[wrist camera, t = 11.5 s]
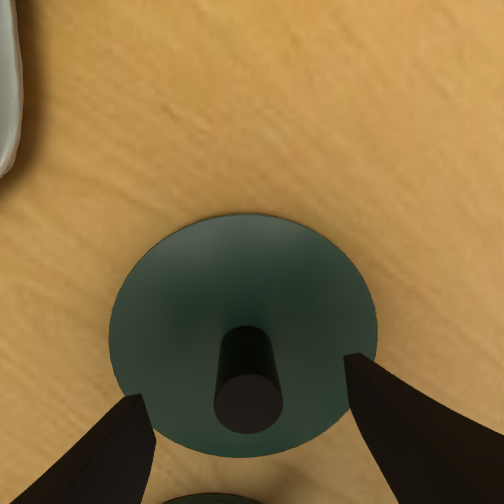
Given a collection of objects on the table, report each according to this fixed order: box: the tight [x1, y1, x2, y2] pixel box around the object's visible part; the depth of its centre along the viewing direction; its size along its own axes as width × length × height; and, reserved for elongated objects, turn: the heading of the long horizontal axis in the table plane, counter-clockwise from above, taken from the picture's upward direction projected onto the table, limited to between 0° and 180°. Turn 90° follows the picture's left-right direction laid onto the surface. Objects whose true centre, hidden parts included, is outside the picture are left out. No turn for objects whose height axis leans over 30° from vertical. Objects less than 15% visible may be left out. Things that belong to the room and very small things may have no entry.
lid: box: [109, 213, 378, 458], centre depth 12 cm, size 12×12×5 cm
